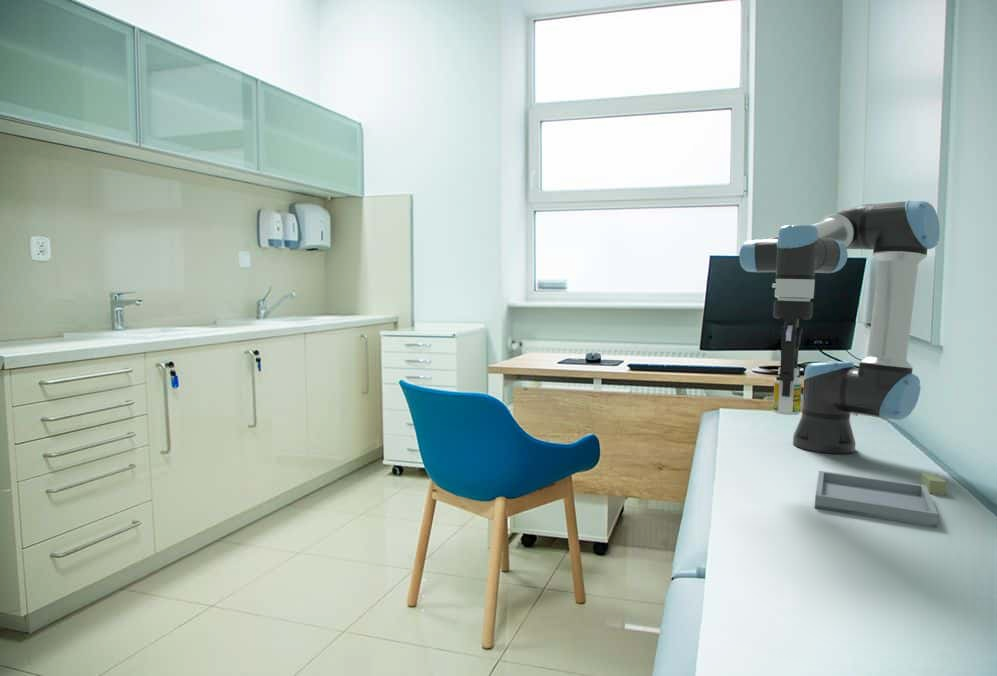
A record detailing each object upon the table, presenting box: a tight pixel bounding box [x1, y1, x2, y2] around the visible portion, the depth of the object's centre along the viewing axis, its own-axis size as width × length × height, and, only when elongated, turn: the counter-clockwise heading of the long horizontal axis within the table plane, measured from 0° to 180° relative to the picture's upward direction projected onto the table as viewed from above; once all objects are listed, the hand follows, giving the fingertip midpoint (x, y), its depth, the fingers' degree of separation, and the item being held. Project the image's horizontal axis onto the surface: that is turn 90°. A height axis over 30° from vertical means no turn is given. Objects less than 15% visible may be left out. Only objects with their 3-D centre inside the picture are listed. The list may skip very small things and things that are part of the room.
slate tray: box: [814, 470, 939, 528], centre depth 135 cm, size 20×20×2 cm
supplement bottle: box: [772, 366, 803, 416], centre depth 142 cm, size 5×5×10 cm
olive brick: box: [920, 472, 947, 495], centre depth 144 cm, size 6×3×3 cm, turn 162°
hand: (786, 409), depth 143 cm, fingers closed on supplement bottle, 5 cm apart
